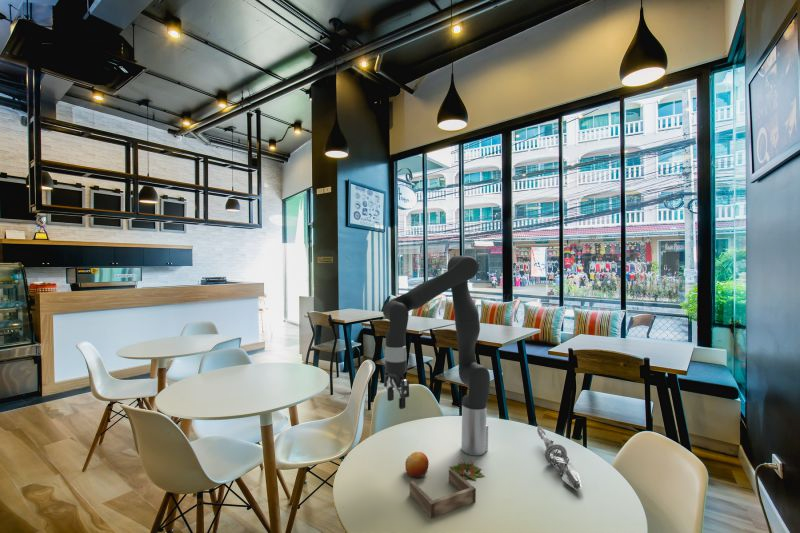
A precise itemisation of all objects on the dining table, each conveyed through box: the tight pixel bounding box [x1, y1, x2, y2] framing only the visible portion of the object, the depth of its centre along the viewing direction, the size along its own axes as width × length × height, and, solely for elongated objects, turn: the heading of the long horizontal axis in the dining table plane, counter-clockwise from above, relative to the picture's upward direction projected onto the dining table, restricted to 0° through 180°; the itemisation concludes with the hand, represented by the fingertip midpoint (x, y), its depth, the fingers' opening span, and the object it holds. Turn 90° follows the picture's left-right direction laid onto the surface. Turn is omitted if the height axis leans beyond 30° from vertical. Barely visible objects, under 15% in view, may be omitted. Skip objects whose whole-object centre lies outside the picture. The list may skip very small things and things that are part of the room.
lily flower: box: [450, 458, 486, 482], centre depth 127 cm, size 12×12×5 cm
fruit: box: [404, 451, 430, 479], centre depth 126 cm, size 8×8×8 cm
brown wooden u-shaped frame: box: [409, 468, 477, 519], centre depth 113 cm, size 16×12×4 cm
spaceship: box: [536, 426, 582, 491], centre depth 133 cm, size 8×35×8 cm
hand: (396, 404), depth 130 cm, fingers open, 8 cm apart
